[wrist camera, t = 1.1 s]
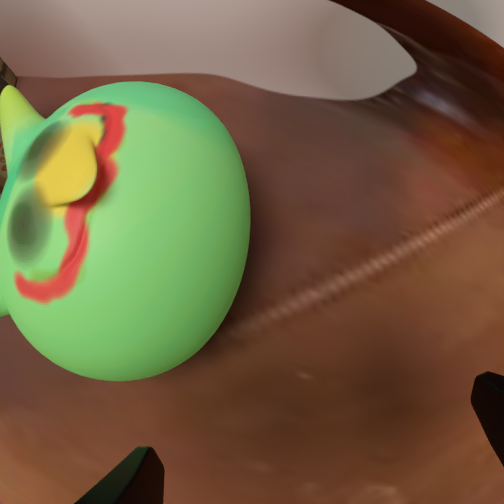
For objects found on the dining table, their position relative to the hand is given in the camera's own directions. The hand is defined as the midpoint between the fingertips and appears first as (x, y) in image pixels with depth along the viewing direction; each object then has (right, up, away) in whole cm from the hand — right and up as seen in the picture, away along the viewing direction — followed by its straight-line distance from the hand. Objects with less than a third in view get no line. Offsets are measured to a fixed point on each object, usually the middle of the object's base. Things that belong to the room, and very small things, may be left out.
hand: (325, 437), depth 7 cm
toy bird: (-10, +5, +18) cm, 21 cm away
